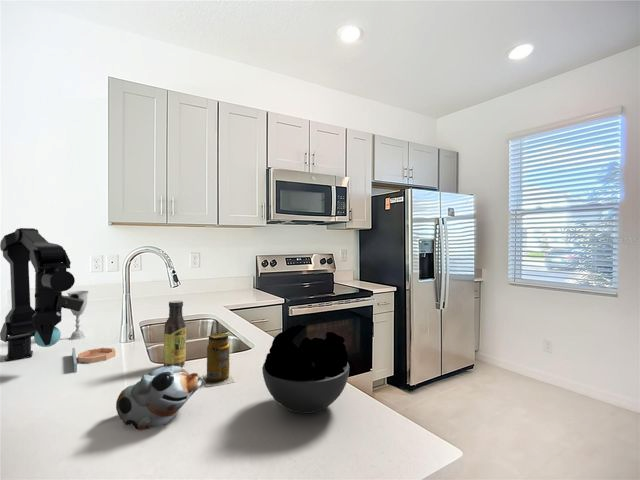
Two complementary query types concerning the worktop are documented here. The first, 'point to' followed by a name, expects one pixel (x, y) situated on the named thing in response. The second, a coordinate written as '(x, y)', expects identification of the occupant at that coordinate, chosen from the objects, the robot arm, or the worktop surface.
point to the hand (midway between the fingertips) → (47, 342)
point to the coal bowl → (306, 370)
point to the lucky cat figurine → (156, 397)
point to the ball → (54, 338)
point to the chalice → (79, 313)
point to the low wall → (74, 359)
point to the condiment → (218, 360)
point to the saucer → (96, 355)
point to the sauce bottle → (175, 336)
